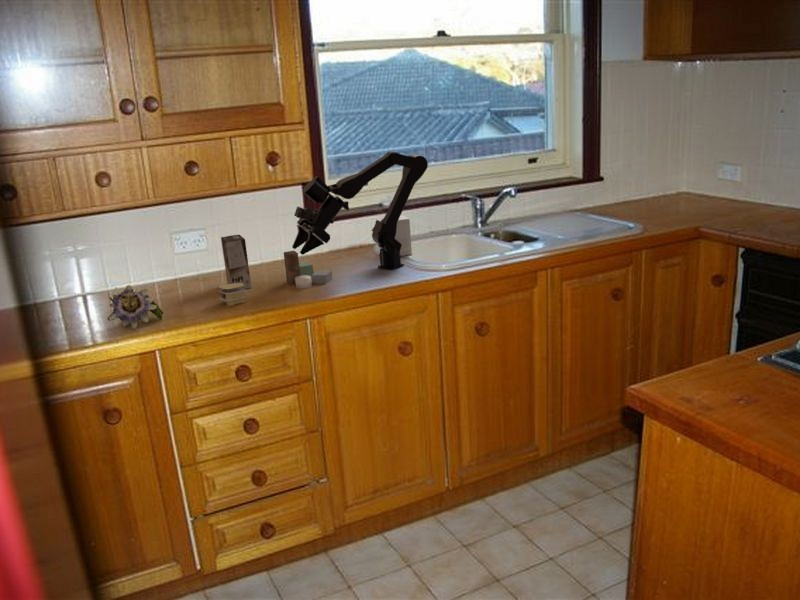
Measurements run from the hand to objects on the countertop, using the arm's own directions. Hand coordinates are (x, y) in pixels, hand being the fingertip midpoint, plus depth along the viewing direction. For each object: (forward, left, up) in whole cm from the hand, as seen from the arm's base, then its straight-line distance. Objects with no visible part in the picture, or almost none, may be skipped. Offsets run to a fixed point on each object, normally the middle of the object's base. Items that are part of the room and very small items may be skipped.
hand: (297, 251), depth 237 cm
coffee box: (+14, +14, -10) cm, 22 cm away
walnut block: (+1, +2, -10) cm, 10 cm away
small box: (-4, -44, -10) cm, 45 cm away
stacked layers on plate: (+1, +26, -11) cm, 28 cm away
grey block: (-6, -4, -10) cm, 13 cm away
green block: (+5, -6, -10) cm, 13 cm away
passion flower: (+9, +53, -11) cm, 55 cm away
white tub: (-5, +3, -10) cm, 12 cm away
